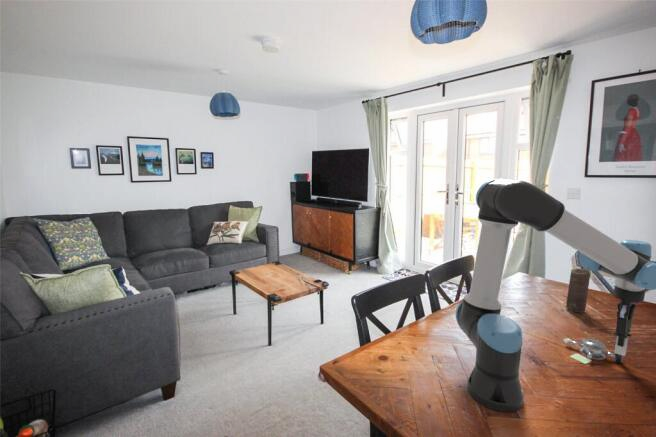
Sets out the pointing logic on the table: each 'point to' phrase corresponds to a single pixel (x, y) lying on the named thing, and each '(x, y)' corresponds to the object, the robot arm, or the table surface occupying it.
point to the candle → (578, 290)
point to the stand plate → (583, 359)
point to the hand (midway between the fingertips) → (619, 353)
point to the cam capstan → (594, 349)
